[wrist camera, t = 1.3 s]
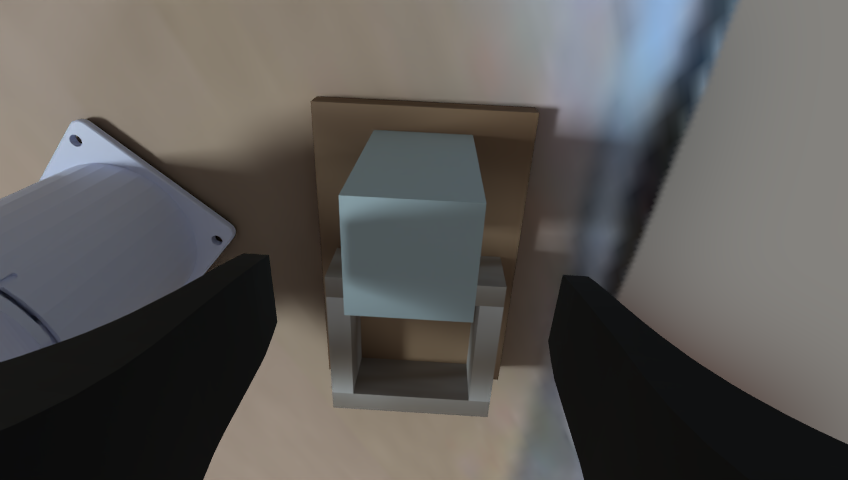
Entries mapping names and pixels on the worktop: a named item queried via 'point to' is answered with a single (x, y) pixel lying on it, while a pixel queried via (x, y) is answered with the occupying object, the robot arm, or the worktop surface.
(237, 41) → the worktop surface
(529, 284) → the worktop surface
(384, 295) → the peg
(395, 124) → the board
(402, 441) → the worktop surface
